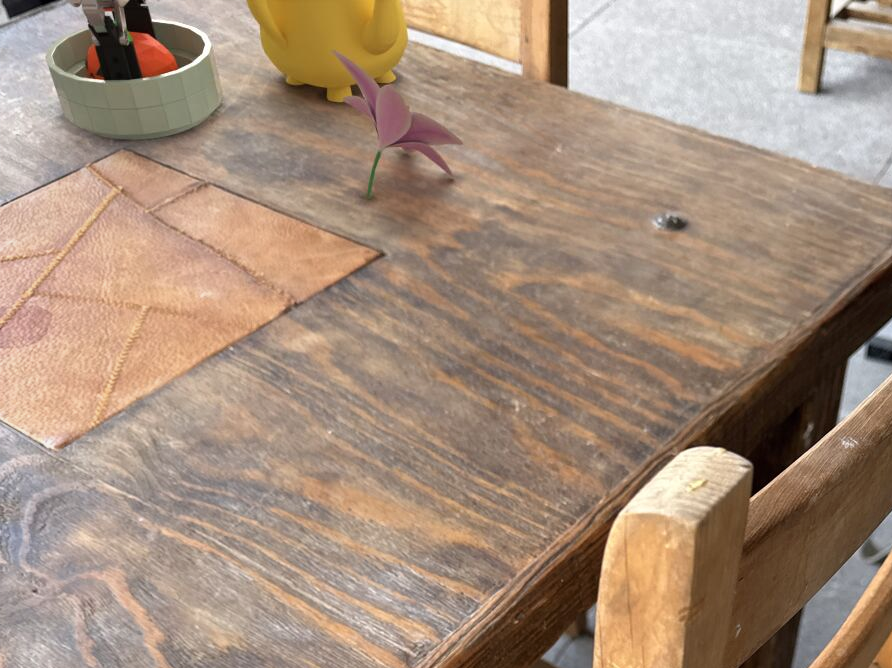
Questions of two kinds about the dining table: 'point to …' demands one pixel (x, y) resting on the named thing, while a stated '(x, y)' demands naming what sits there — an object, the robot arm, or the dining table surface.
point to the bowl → (138, 87)
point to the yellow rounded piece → (331, 39)
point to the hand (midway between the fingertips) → (135, 73)
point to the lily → (396, 120)
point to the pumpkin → (148, 52)
